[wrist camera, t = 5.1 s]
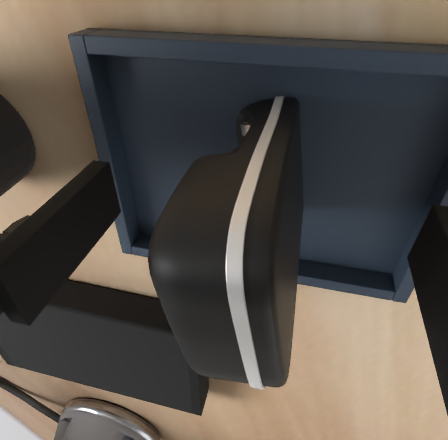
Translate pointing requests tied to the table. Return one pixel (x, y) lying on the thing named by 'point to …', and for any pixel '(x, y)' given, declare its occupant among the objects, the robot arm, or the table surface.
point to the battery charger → (236, 250)
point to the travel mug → (14, 147)
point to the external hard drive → (107, 346)
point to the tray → (310, 136)
